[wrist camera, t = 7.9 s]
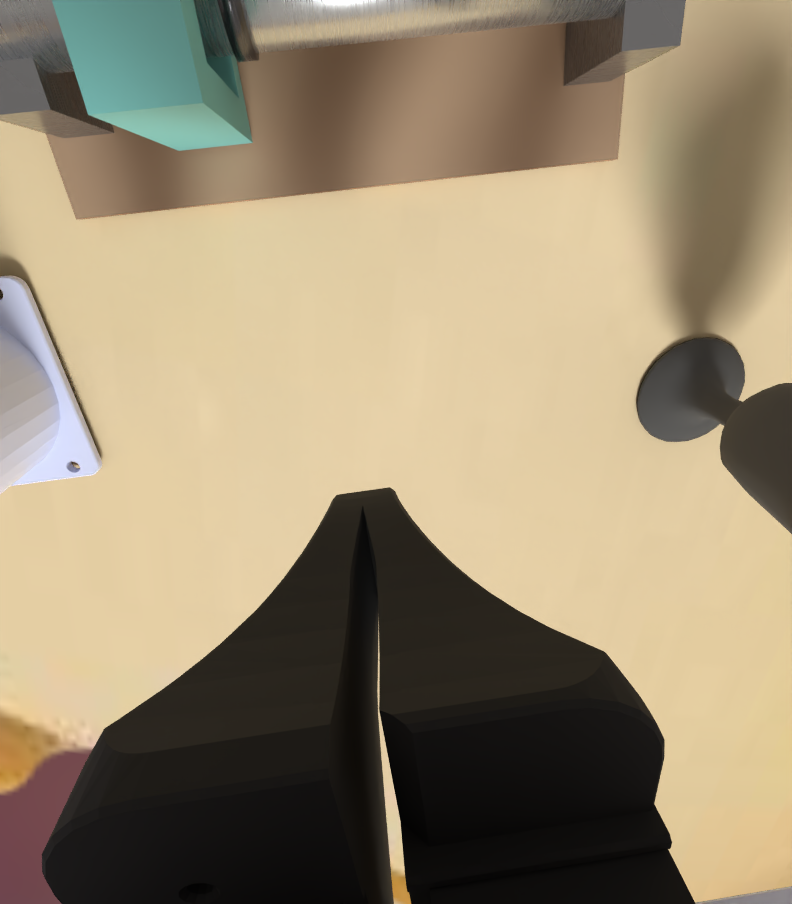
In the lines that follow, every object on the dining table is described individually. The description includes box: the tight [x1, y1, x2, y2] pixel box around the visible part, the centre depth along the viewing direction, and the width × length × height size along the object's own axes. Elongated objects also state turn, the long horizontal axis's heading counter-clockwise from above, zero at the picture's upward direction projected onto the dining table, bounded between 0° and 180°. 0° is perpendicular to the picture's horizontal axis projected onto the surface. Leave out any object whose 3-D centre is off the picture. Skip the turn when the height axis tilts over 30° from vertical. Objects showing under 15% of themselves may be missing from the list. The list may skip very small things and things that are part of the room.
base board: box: [46, 23, 625, 219], centre depth 15 cm, size 19×9×1 cm, turn 96°
